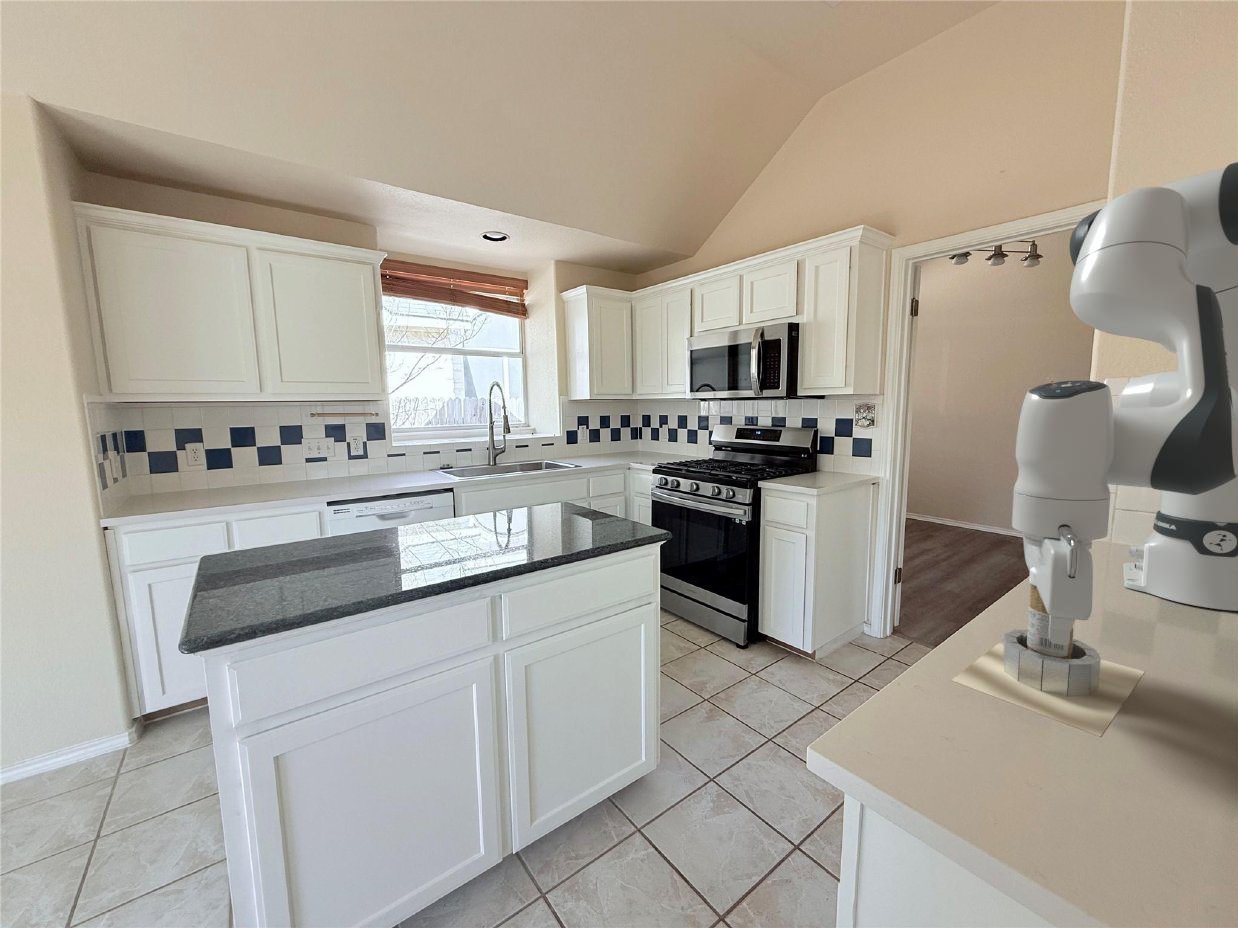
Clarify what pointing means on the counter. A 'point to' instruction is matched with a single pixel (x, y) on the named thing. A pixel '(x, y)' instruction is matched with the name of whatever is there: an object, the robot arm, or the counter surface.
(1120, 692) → the birch board
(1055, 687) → the steel ring
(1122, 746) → the counter surface
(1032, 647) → the sprinkles bottle
